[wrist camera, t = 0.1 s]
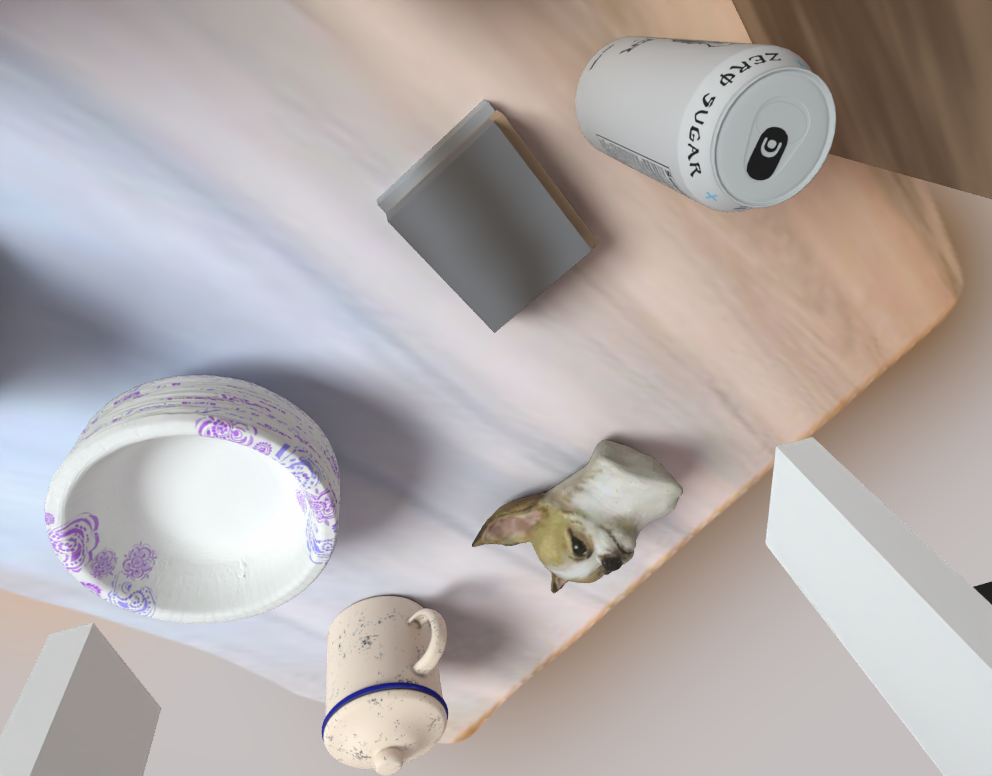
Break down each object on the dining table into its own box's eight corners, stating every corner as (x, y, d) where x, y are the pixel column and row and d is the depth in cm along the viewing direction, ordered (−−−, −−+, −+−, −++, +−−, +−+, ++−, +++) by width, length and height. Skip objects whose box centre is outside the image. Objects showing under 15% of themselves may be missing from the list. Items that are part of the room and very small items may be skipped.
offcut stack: (486, 314, 41) (501, 344, 37) (376, 198, 36) (380, 220, 32) (584, 230, 39) (610, 253, 36) (484, 97, 34) (501, 107, 31)
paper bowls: (39, 465, 39) (-23, 557, 33) (191, 300, 36) (157, 364, 30) (245, 569, 47) (229, 661, 40) (386, 440, 44) (394, 516, 37)
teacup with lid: (393, 676, 56) (403, 815, 47) (303, 647, 52) (293, 793, 42) (476, 591, 53) (506, 721, 43) (387, 552, 49) (398, 687, 39)
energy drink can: (688, 56, 35) (882, 79, 22) (645, 165, 38) (798, 240, 25) (592, 19, 33) (746, 20, 21) (554, 136, 36) (670, 201, 23)
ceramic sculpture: (736, 541, 43) (576, 657, 48) (685, 461, 50) (550, 568, 55) (644, 467, 38) (475, 604, 43) (602, 390, 45) (461, 514, 50)
